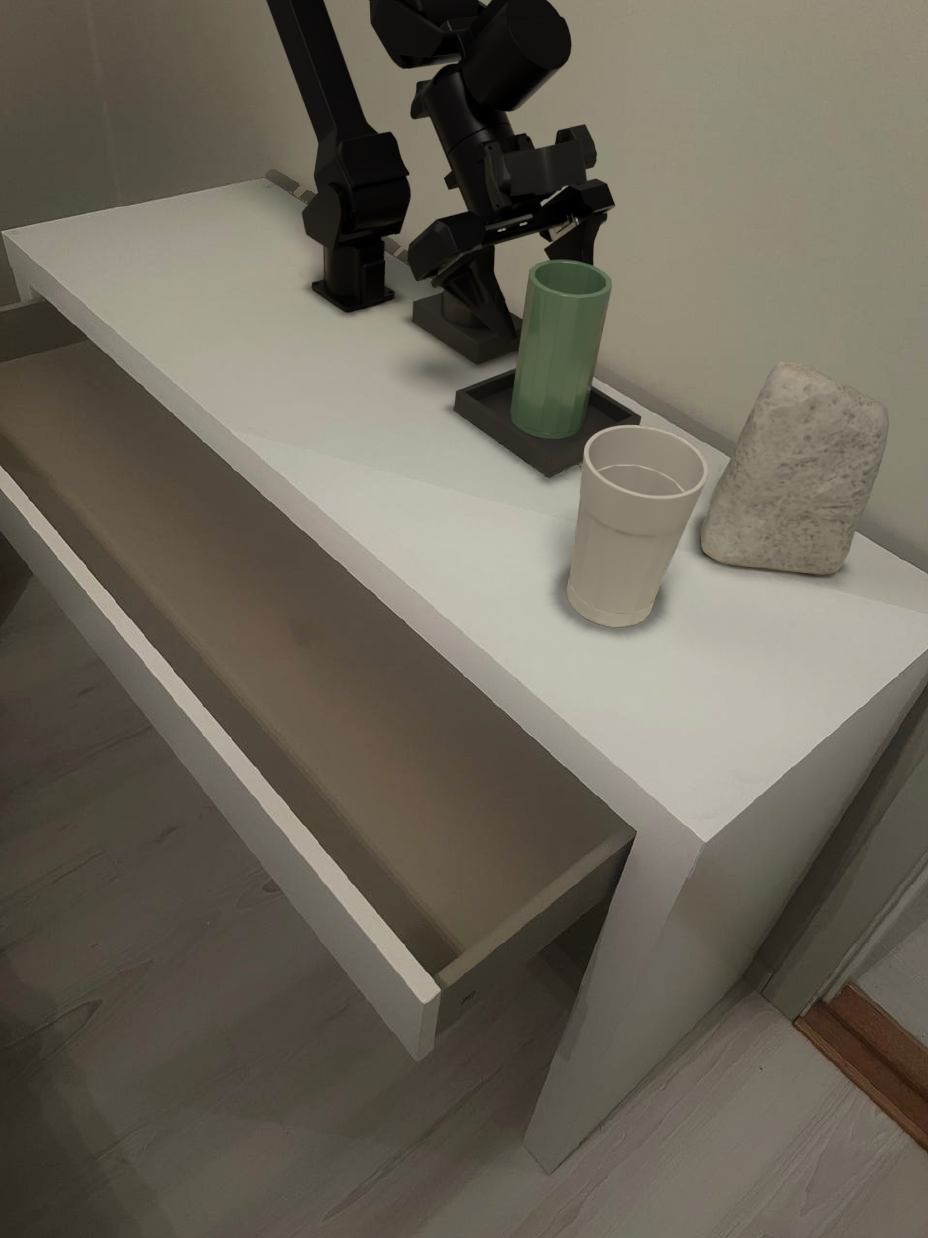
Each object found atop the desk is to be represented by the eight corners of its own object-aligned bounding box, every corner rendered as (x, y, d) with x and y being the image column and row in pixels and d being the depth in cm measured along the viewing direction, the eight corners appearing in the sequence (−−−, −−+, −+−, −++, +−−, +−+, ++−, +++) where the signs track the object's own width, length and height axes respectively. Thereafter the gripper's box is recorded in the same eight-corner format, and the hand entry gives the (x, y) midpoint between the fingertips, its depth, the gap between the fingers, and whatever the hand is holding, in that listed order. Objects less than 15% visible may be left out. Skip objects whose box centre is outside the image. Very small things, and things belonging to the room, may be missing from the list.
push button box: (412, 321, 94) (413, 283, 92) (463, 304, 98) (467, 267, 95) (476, 364, 89) (480, 325, 87) (529, 345, 93) (534, 307, 90)
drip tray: (453, 410, 83) (455, 390, 82) (542, 374, 89) (545, 356, 88) (548, 478, 77) (551, 458, 76) (637, 435, 83) (642, 416, 82)
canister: (497, 423, 82) (515, 281, 72) (527, 390, 86) (548, 252, 77) (566, 447, 80) (594, 305, 71) (593, 412, 84) (623, 273, 75)
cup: (661, 645, 65) (707, 509, 56) (548, 622, 65) (577, 484, 57) (666, 571, 70) (709, 437, 62) (562, 550, 71) (590, 415, 62)
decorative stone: (834, 542, 74) (914, 376, 64) (840, 591, 70) (926, 422, 60) (698, 516, 75) (755, 348, 65) (696, 563, 71) (757, 391, 61)
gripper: (440, 103, 64) (528, 321, 66) (622, 71, 73) (694, 262, 75) (369, 182, 73) (448, 370, 75) (538, 145, 82) (604, 313, 85)
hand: (552, 327), depth 77 cm, fingers open, 9 cm apart
